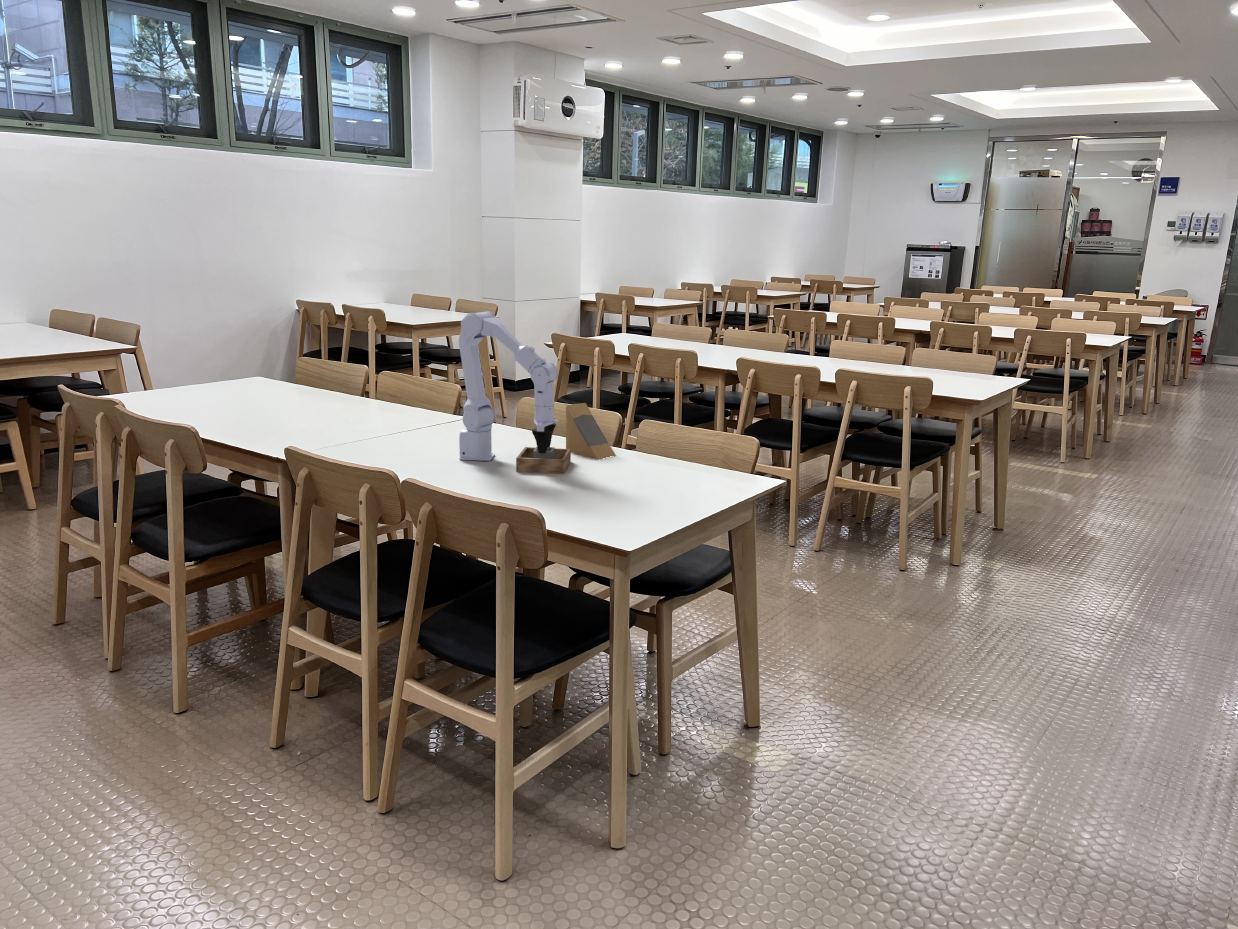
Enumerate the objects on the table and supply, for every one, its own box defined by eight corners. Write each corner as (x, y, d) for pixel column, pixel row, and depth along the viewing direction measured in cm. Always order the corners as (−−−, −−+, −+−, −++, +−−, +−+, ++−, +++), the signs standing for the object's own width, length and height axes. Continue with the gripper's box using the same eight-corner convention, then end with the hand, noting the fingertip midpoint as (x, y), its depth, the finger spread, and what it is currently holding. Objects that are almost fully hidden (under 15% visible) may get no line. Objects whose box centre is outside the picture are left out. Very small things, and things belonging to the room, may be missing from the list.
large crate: (516, 471, 252) (516, 458, 251) (525, 459, 265) (525, 447, 264) (564, 473, 251) (564, 460, 250) (570, 461, 264) (570, 448, 263)
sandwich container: (597, 460, 268) (598, 412, 264) (564, 451, 278) (565, 405, 274) (617, 456, 273) (618, 409, 270) (584, 447, 284) (585, 402, 280)
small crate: (533, 465, 256) (533, 450, 254) (536, 461, 261) (536, 446, 260) (551, 466, 255) (552, 451, 254) (554, 462, 260) (554, 447, 259)
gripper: (554, 410, 246) (553, 456, 250) (561, 401, 260) (561, 445, 264) (529, 409, 247) (529, 455, 250) (538, 400, 261) (538, 444, 264)
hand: (544, 450), depth 257 cm, fingers open, 6 cm apart
